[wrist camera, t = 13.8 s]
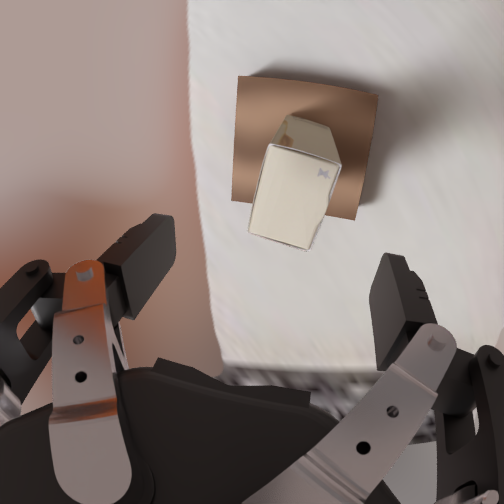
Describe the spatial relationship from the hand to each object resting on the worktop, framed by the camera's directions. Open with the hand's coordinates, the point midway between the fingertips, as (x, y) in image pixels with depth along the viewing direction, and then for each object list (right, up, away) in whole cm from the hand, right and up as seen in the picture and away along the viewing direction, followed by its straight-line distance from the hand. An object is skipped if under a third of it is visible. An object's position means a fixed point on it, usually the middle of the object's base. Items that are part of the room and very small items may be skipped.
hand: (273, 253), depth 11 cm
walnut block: (+5, +12, +19) cm, 23 cm away
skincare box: (+4, +10, +16) cm, 19 cm away
